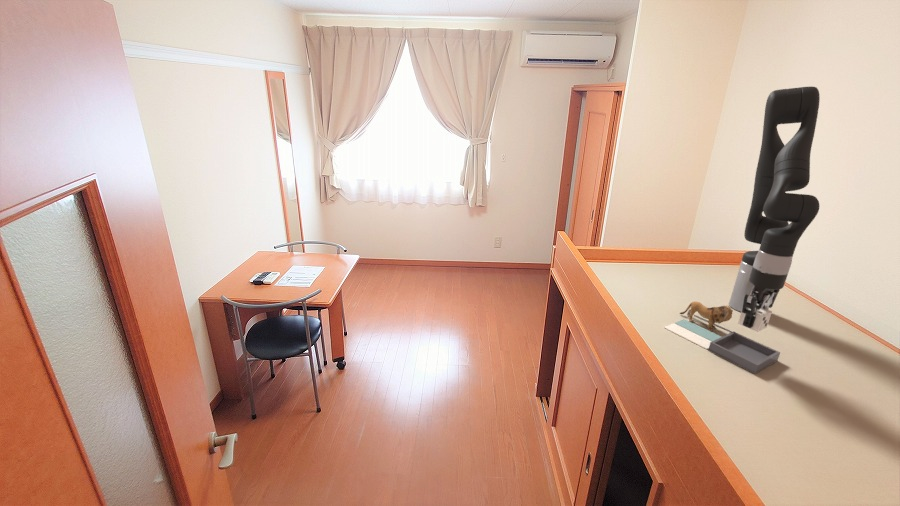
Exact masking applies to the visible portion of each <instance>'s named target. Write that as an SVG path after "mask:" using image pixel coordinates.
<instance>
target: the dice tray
mask: <svg viewBox="0 0 900 506" xmlns="http://www.w3.org/2000/svg"><path fill="white" fill-rule="evenodd" d="M707 351H709V352H710V353H713V354H714V355H716V356H718V357H720V358H722V359H724V360H727V361H728V362H729V363H732V364H734V365H736V366H738V367H740V368H742V369H744V370H746V371H748V372H750V373H752V374H754V375H756V374H757V373H759V372H762V371H763V370H764V369H766V368H767V367H770V366H771V365H773V364H774V363H776V362H777V361H778V360H779V357H780V354H781V352H780V351H778V350H776V349H773V348H771V347H769V346H767V345H765V344H763V343H761V342H758V341H755V340H754V339H752V338H749V337H747V336H744V335H743V334H740V333H738V332H736V331H732V332H729V333H727V334H724V335H723V336H721V338H719V339H716V340H714V341H712V342H710V346H709V349H707Z"/></svg>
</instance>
